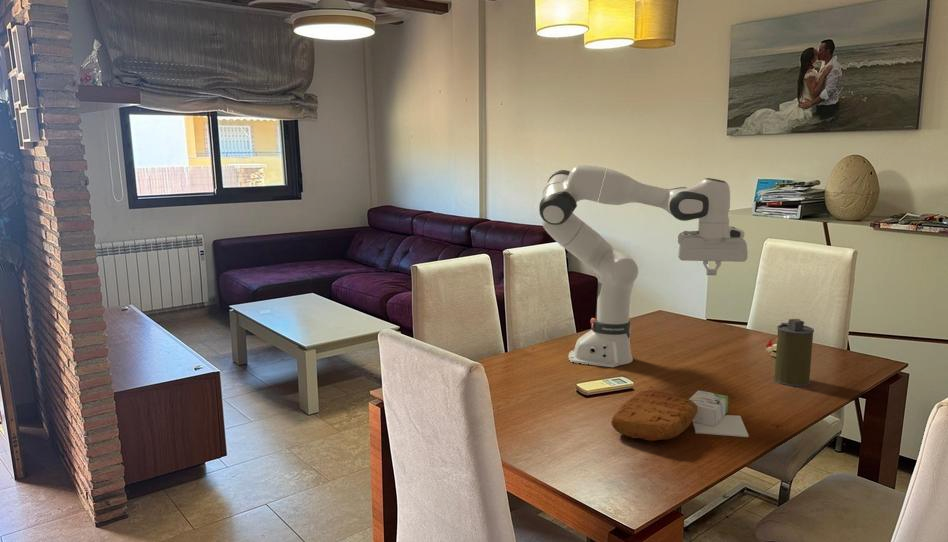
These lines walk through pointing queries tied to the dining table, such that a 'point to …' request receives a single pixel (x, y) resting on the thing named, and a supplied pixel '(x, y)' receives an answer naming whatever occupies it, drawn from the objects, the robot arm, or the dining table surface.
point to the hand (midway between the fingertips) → (711, 275)
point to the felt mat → (723, 427)
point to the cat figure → (771, 348)
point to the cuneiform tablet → (654, 416)
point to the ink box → (709, 407)
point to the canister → (793, 353)
